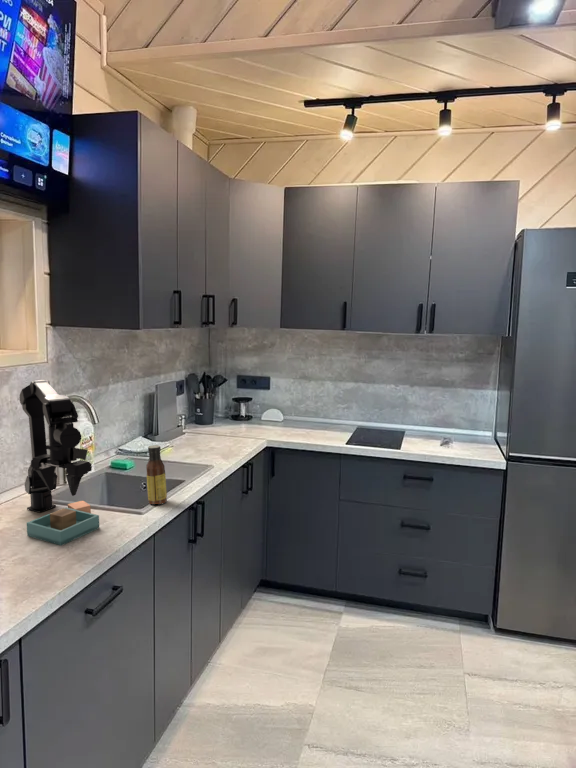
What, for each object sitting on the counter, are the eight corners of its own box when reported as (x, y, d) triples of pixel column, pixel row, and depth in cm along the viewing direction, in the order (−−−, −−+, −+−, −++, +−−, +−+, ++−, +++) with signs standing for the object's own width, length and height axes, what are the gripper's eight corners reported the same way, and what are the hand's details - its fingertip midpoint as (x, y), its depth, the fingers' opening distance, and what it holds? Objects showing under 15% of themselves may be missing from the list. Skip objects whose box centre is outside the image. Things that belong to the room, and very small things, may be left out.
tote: (27, 535, 156) (26, 522, 156) (66, 519, 168) (65, 507, 168) (61, 545, 150) (60, 532, 149) (99, 528, 162) (98, 515, 162)
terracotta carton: (67, 513, 175) (67, 504, 174) (83, 509, 178) (82, 500, 178) (75, 518, 170) (74, 509, 170) (90, 514, 174) (90, 505, 173)
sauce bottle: (168, 499, 187) (167, 443, 184) (164, 506, 181) (163, 448, 178) (149, 499, 187) (148, 443, 184) (145, 506, 181) (143, 448, 178)
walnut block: (50, 529, 158) (49, 513, 157) (64, 524, 162) (63, 508, 162) (62, 533, 156) (61, 516, 155) (76, 527, 160) (75, 511, 159)
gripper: (104, 438, 159) (106, 489, 161) (59, 432, 167) (61, 480, 169) (75, 447, 149) (77, 501, 151) (28, 439, 157) (31, 491, 159)
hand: (62, 492), depth 158 cm, fingers open, 9 cm apart
